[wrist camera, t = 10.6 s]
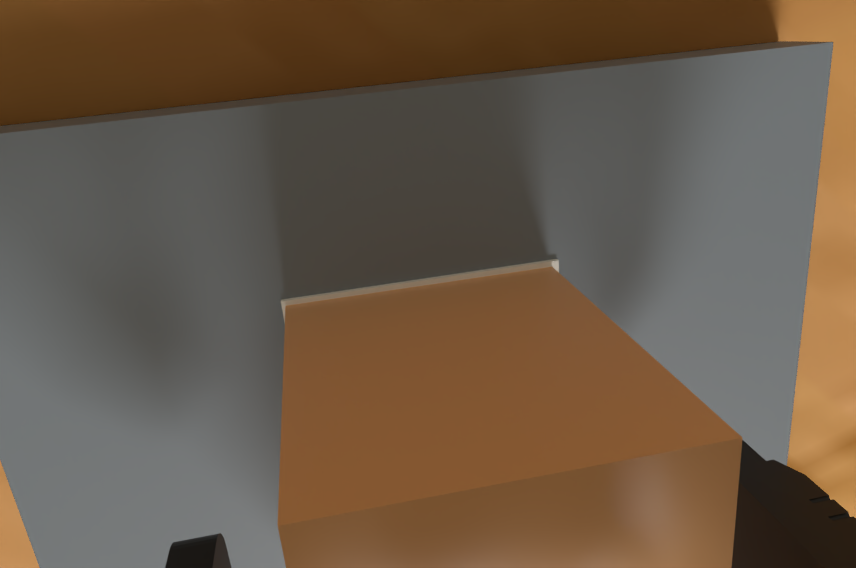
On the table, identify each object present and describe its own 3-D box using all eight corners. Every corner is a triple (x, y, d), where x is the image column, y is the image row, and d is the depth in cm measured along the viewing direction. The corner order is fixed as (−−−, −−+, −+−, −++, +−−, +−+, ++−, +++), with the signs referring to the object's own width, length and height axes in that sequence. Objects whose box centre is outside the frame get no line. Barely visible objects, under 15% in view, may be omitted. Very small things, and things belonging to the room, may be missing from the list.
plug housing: (552, 266, 13) (741, 437, 8) (559, 559, 16) (707, 851, 10) (285, 305, 12) (277, 524, 7) (337, 605, 15) (362, 947, 9)
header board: (779, 41, 14) (930, 43, 11) (734, 579, 19) (828, 694, 16) (-67, 133, 12) (-209, 171, 9) (130, 713, 17) (89, 880, 13)
